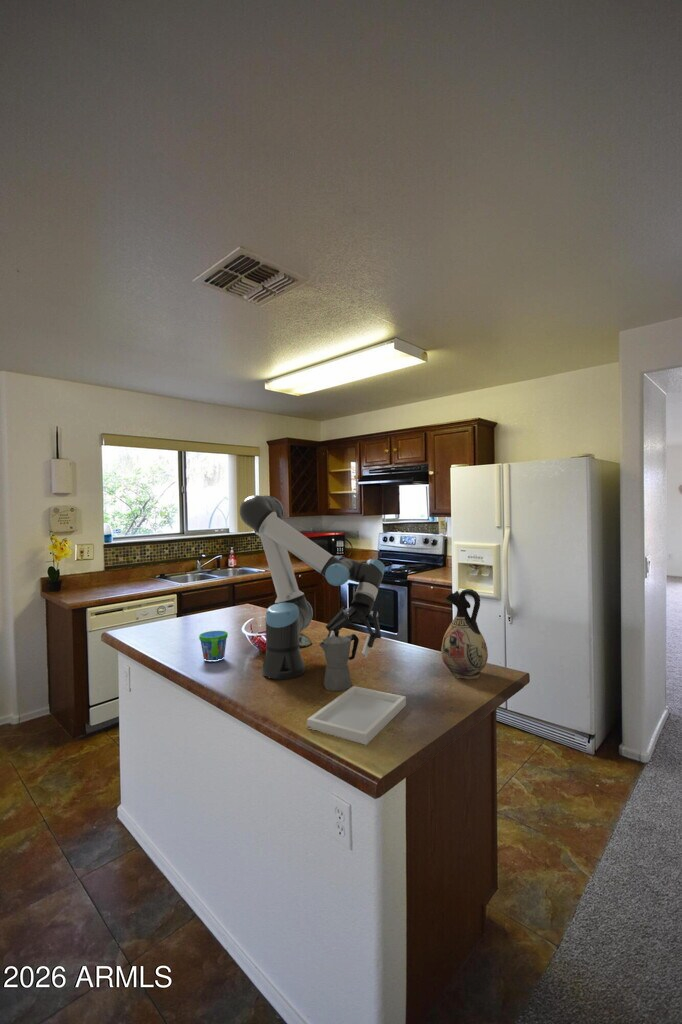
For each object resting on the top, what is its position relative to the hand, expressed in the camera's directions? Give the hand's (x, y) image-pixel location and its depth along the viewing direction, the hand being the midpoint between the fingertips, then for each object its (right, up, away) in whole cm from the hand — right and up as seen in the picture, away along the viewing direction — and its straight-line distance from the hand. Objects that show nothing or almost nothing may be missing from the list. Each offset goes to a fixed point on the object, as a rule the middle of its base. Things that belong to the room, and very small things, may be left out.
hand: (345, 652), depth 150 cm
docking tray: (+4, -10, -23) cm, 26 cm away
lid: (-19, -11, +45) cm, 50 cm away
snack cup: (-51, -11, +27) cm, 58 cm away
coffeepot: (-2, -11, -1) cm, 11 cm away
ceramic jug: (+41, -10, +6) cm, 43 cm away
